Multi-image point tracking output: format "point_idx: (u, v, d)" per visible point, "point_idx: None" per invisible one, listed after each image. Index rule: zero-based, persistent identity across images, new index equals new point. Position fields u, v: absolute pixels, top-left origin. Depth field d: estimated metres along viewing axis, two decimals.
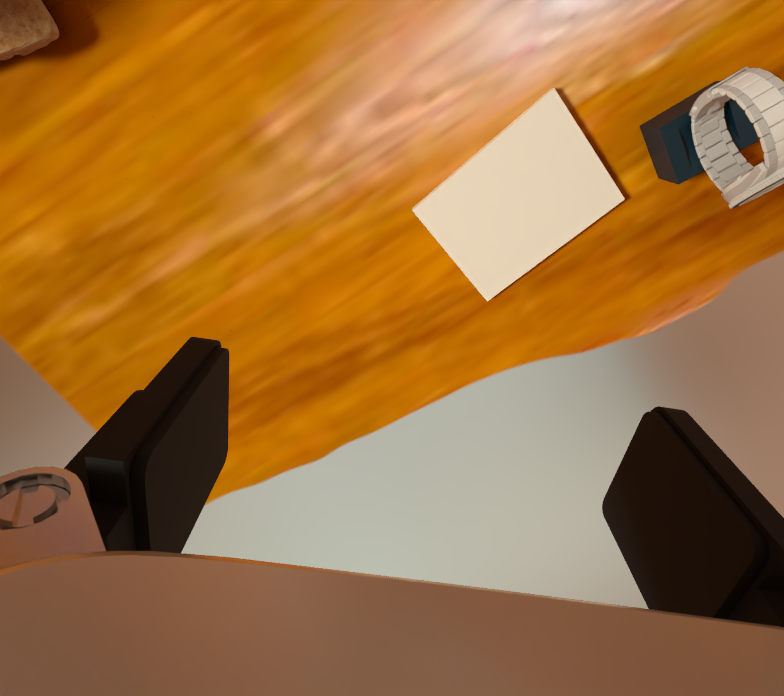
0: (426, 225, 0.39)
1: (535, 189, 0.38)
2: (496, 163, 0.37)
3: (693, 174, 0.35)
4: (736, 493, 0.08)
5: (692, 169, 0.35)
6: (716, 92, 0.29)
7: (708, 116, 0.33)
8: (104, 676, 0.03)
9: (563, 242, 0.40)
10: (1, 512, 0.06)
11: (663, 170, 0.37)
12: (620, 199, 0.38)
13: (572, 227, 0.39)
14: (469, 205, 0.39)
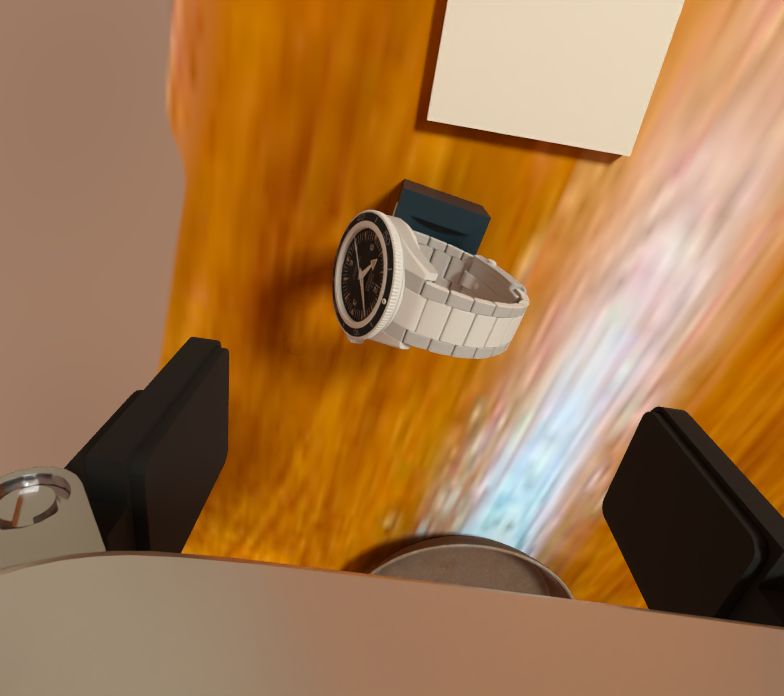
0: None
1: (561, 20, 0.22)
2: (649, 4, 0.21)
3: (398, 211, 0.23)
4: (736, 493, 0.08)
5: (406, 214, 0.23)
6: (521, 292, 0.20)
7: (454, 270, 0.24)
8: (104, 676, 0.03)
9: None
10: (1, 512, 0.06)
11: (420, 188, 0.24)
12: (432, 114, 0.23)
13: (462, 19, 0.22)
14: None
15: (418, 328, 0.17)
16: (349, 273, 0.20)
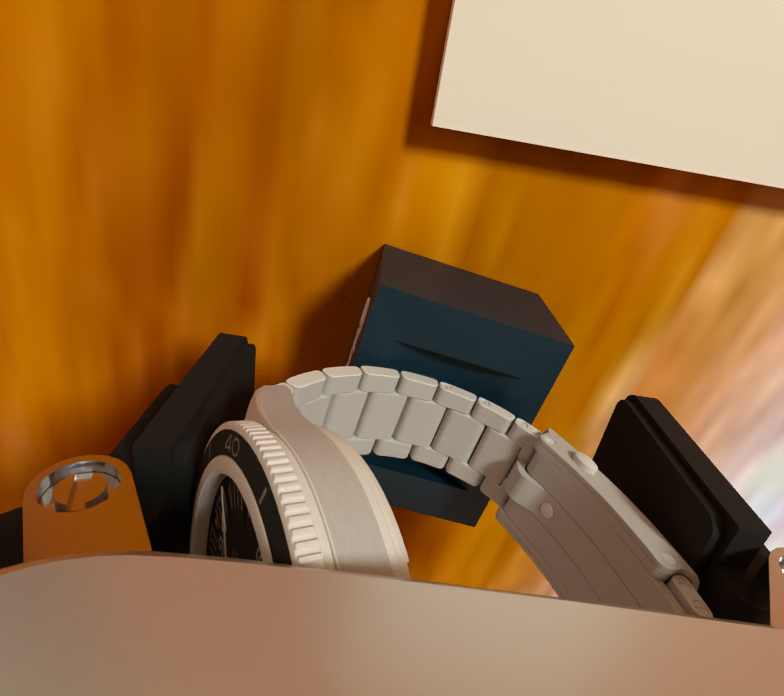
0: None
1: None
2: None
3: (369, 332, 0.10)
4: (699, 475, 0.08)
5: (385, 339, 0.10)
6: (693, 602, 0.07)
7: (492, 454, 0.11)
8: (104, 676, 0.03)
9: None
10: (58, 496, 0.06)
11: (417, 270, 0.12)
12: (444, 113, 0.11)
13: None
14: None
15: None
16: None
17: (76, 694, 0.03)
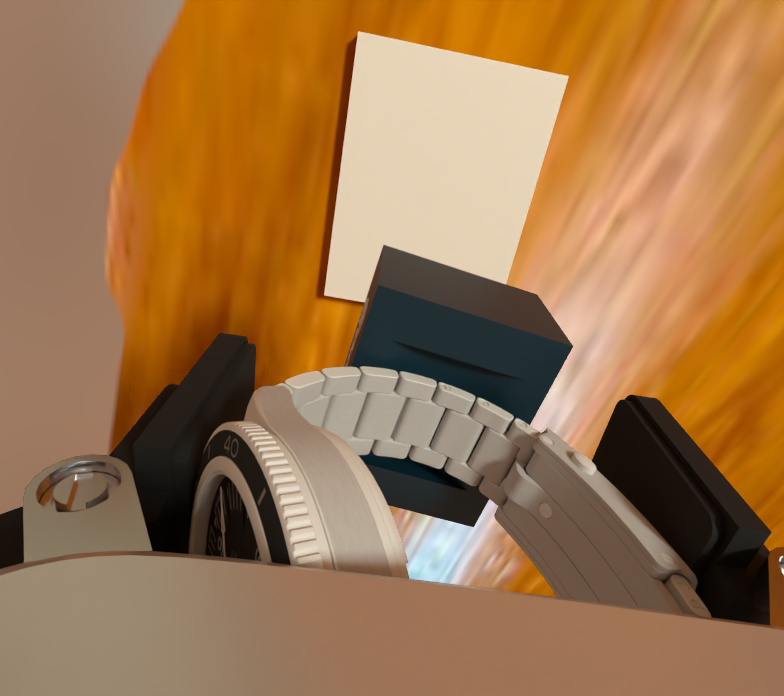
0: (534, 71, 0.23)
1: (428, 228, 0.27)
2: (497, 219, 0.26)
3: (368, 333, 0.10)
4: (699, 475, 0.08)
5: (384, 339, 0.10)
6: (691, 602, 0.07)
7: (491, 455, 0.11)
8: (104, 676, 0.03)
9: (339, 200, 0.26)
10: (58, 496, 0.06)
11: (416, 271, 0.12)
12: (328, 291, 0.28)
13: (347, 225, 0.26)
14: (493, 147, 0.25)
15: None
16: None
17: (76, 693, 0.03)
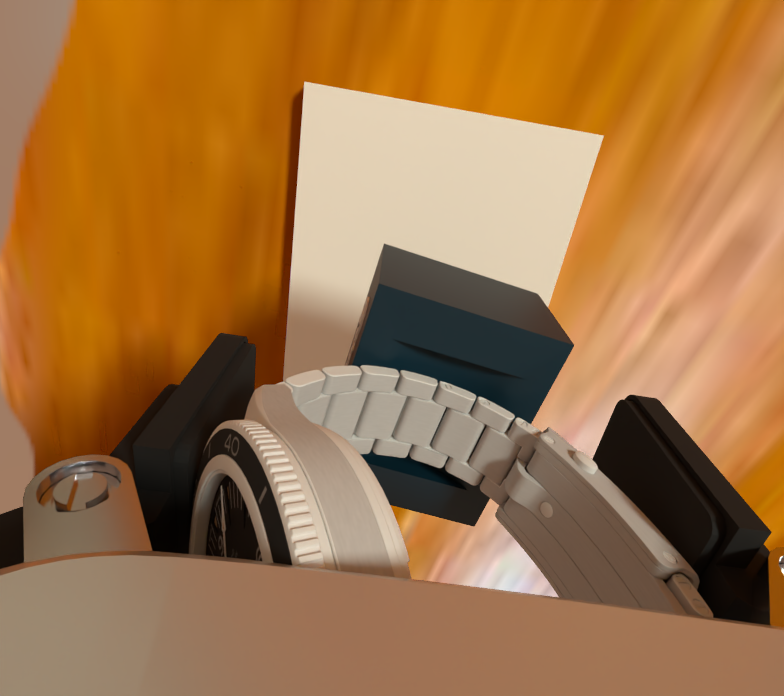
0: (554, 130, 0.16)
1: None
2: None
3: (368, 331, 0.10)
4: (699, 475, 0.08)
5: (385, 338, 0.10)
6: (693, 601, 0.07)
7: (492, 453, 0.11)
8: (104, 676, 0.03)
9: (292, 300, 0.19)
10: (58, 496, 0.06)
11: (417, 270, 0.12)
12: None
13: (306, 330, 0.20)
14: (499, 230, 0.18)
15: None
16: None
17: (76, 694, 0.03)
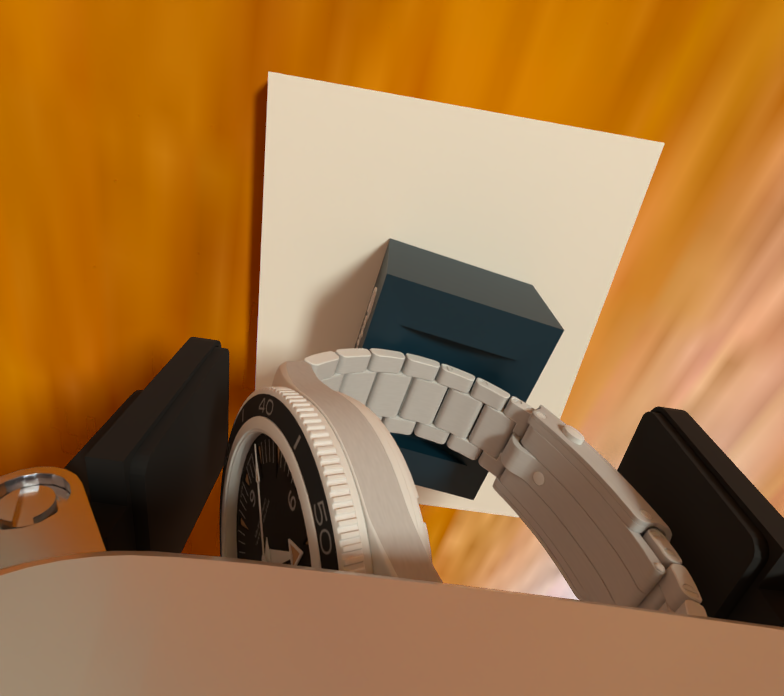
0: (600, 136, 0.12)
1: None
2: None
3: (377, 318, 0.11)
4: (736, 493, 0.08)
5: (392, 324, 0.11)
6: (665, 550, 0.08)
7: (490, 430, 0.12)
8: (104, 676, 0.03)
9: (262, 349, 0.15)
10: (1, 512, 0.06)
11: (420, 262, 0.13)
12: None
13: None
14: (524, 264, 0.14)
15: None
16: (249, 520, 0.08)
17: (76, 694, 0.03)
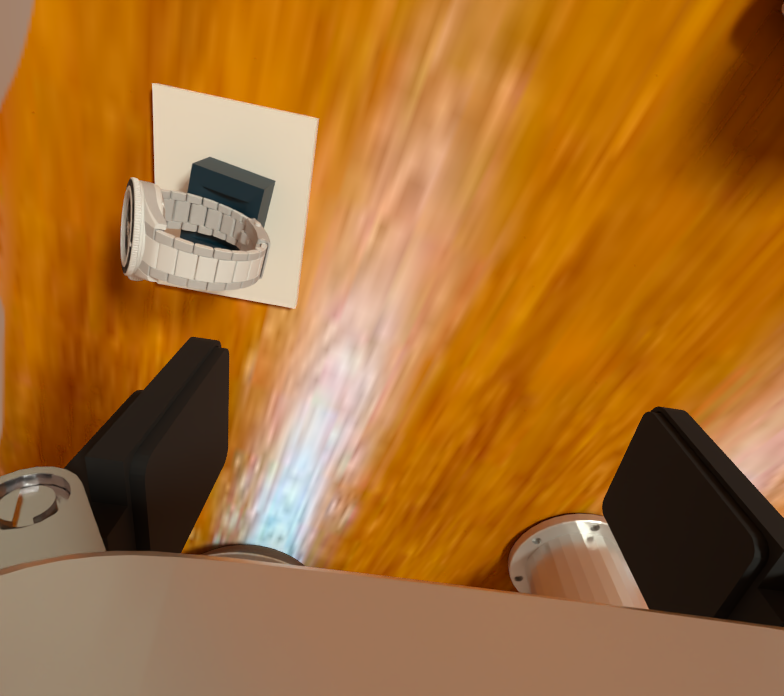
0: (290, 115, 0.31)
1: None
2: (283, 225, 0.34)
3: (191, 182, 0.29)
4: (736, 493, 0.08)
5: (197, 184, 0.30)
6: (262, 245, 0.27)
7: (238, 230, 0.30)
8: (104, 676, 0.03)
9: None
10: (1, 512, 0.06)
11: (216, 164, 0.31)
12: (160, 280, 0.36)
13: (167, 228, 0.34)
14: (270, 170, 0.32)
15: (157, 265, 0.24)
16: None
17: (76, 693, 0.03)
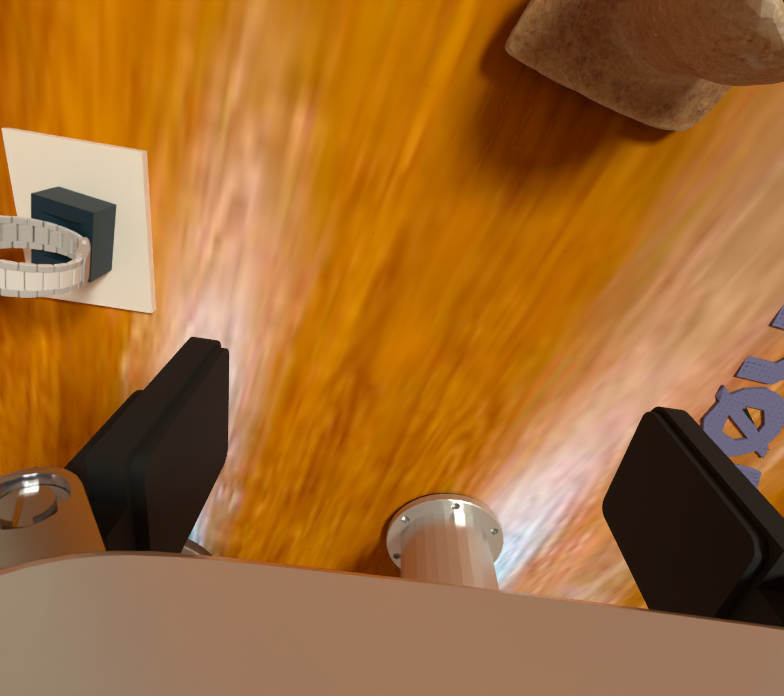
0: (119, 149, 0.36)
1: None
2: (129, 242, 0.39)
3: (32, 208, 0.35)
4: (736, 493, 0.08)
5: (38, 210, 0.35)
6: (76, 259, 0.32)
7: (75, 247, 0.36)
8: (104, 676, 0.03)
9: None
10: (1, 512, 0.06)
11: (58, 193, 0.36)
12: None
13: None
14: (110, 196, 0.38)
15: None
16: None
17: (76, 694, 0.03)
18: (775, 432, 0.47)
